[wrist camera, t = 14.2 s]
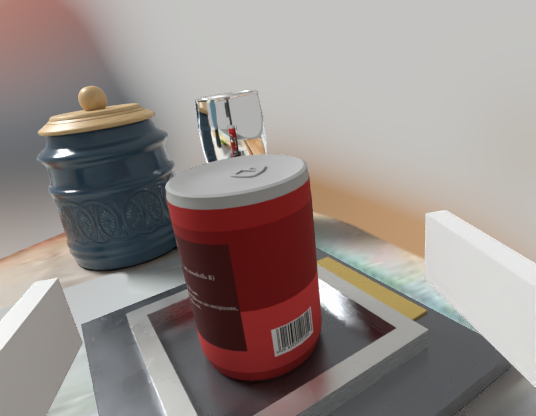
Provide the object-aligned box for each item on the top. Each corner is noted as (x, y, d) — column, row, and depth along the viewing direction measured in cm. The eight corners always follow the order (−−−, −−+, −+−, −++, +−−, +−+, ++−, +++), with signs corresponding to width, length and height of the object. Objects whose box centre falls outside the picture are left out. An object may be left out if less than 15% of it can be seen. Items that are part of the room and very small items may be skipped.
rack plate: (151, 667, 12) (133, 629, 11) (85, 335, 28) (76, 311, 28) (511, 366, 21) (515, 334, 20) (300, 247, 37) (297, 227, 36)
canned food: (327, 301, 27) (315, 149, 23) (315, 392, 19) (295, 192, 16) (226, 298, 29) (200, 157, 25) (181, 380, 21) (134, 199, 18)
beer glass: (245, 246, 39) (220, 98, 34) (206, 232, 44) (179, 101, 39) (289, 222, 43) (273, 87, 38) (249, 211, 48) (230, 91, 43)
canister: (205, 219, 48) (176, 74, 42) (157, 273, 36) (106, 82, 30) (117, 223, 51) (77, 88, 45) (46, 273, 39) (-21, 100, 33)
